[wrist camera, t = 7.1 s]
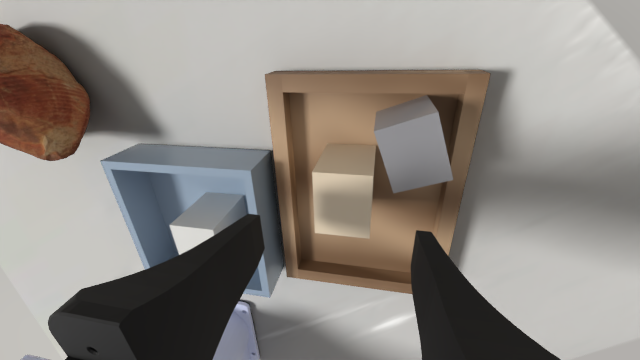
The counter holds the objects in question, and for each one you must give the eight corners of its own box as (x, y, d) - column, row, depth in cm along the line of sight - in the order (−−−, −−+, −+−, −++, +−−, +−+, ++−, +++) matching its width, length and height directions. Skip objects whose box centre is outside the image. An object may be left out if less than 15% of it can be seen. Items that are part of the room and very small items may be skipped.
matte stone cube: (439, 150, 18) (453, 180, 14) (392, 163, 19) (393, 193, 15) (426, 94, 16) (438, 111, 13) (376, 111, 17) (373, 131, 14)
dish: (283, 266, 26) (270, 297, 23) (174, 252, 28) (148, 278, 25) (270, 150, 21) (250, 170, 18) (138, 143, 23) (100, 161, 20)
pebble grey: (250, 236, 24) (224, 275, 20) (216, 232, 25) (184, 269, 21) (243, 195, 22) (212, 229, 18) (206, 192, 23) (169, 225, 19)
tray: (435, 280, 23) (438, 297, 21) (292, 262, 25) (287, 276, 24) (480, 69, 16) (490, 73, 14) (274, 71, 18) (264, 74, 16)
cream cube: (372, 198, 20) (369, 238, 16) (328, 195, 21) (314, 232, 17) (376, 145, 18) (373, 176, 14) (327, 143, 19) (312, 172, 15)
